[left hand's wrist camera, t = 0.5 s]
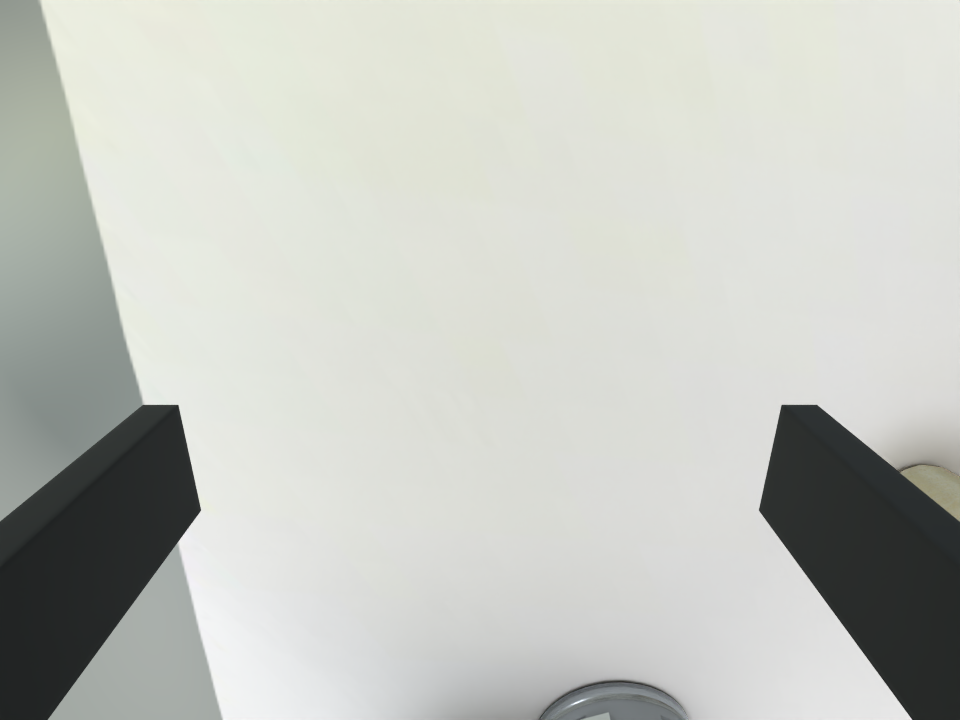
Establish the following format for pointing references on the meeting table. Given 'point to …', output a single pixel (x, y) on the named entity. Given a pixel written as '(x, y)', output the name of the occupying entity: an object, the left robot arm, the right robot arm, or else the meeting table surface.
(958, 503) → the flower pot
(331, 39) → the meeting table surface
